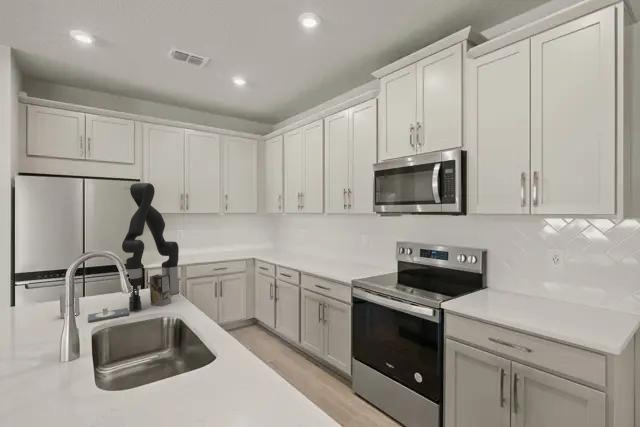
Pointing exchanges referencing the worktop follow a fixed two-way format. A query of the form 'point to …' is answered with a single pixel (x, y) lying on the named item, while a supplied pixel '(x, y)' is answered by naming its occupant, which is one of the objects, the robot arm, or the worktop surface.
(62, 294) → the milk bottle
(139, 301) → the knob
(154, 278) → the coffee box
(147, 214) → the robot arm
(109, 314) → the control panel
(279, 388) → the worktop surface
